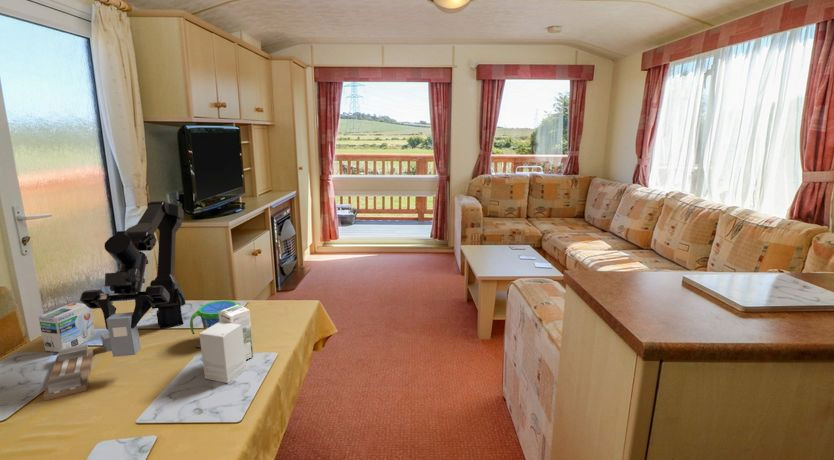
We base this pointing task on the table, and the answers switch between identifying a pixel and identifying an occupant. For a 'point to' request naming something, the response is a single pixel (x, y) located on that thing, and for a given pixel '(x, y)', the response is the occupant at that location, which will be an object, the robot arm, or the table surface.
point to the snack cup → (211, 313)
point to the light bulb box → (67, 326)
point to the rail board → (70, 372)
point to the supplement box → (223, 351)
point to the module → (123, 335)
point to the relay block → (106, 342)
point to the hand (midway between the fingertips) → (120, 328)
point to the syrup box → (242, 318)
